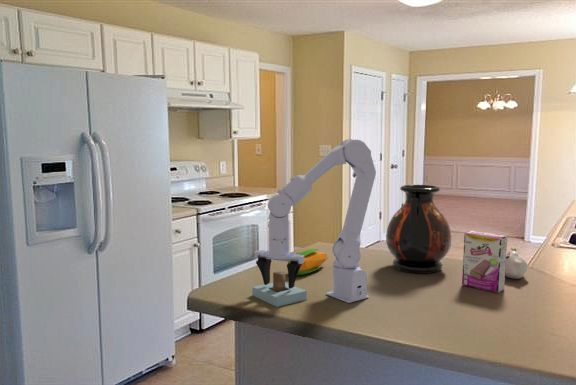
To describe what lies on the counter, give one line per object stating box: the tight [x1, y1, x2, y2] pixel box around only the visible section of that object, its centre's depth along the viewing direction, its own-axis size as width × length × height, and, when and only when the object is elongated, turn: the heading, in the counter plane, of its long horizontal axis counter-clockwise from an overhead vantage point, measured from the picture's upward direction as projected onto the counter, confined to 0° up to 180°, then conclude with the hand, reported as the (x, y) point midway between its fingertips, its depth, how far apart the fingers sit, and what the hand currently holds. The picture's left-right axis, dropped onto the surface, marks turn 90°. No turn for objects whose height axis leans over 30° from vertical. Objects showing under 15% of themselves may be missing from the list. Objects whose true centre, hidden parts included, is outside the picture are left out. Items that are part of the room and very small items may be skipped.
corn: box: [287, 248, 329, 276], centre depth 169 cm, size 7×8×20 cm
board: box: [251, 281, 307, 308], centre depth 142 cm, size 12×10×2 cm
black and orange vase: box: [385, 184, 452, 274], centre depth 171 cm, size 22×22×28 cm
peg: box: [272, 271, 286, 292], centre depth 142 cm, size 3×3×7 cm
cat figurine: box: [505, 247, 529, 280], centre depth 162 cm, size 10×8×15 cm
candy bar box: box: [461, 230, 508, 294], centre depth 150 cm, size 11×5×16 cm, turn 47°
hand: (279, 285), depth 142 cm, fingers open, 7 cm apart
